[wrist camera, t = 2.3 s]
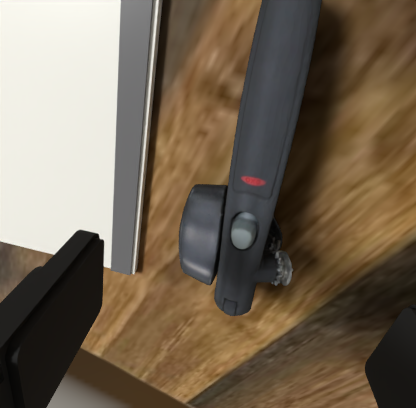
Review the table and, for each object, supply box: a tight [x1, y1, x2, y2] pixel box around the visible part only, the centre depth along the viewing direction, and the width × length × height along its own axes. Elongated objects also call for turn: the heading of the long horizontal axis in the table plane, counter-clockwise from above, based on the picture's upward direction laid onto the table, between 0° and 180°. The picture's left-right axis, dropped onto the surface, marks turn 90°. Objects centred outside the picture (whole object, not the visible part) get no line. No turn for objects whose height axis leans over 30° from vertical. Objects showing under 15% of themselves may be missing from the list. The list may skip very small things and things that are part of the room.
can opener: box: [179, 0, 322, 316], centre depth 15 cm, size 18×7×6 cm, turn 170°
